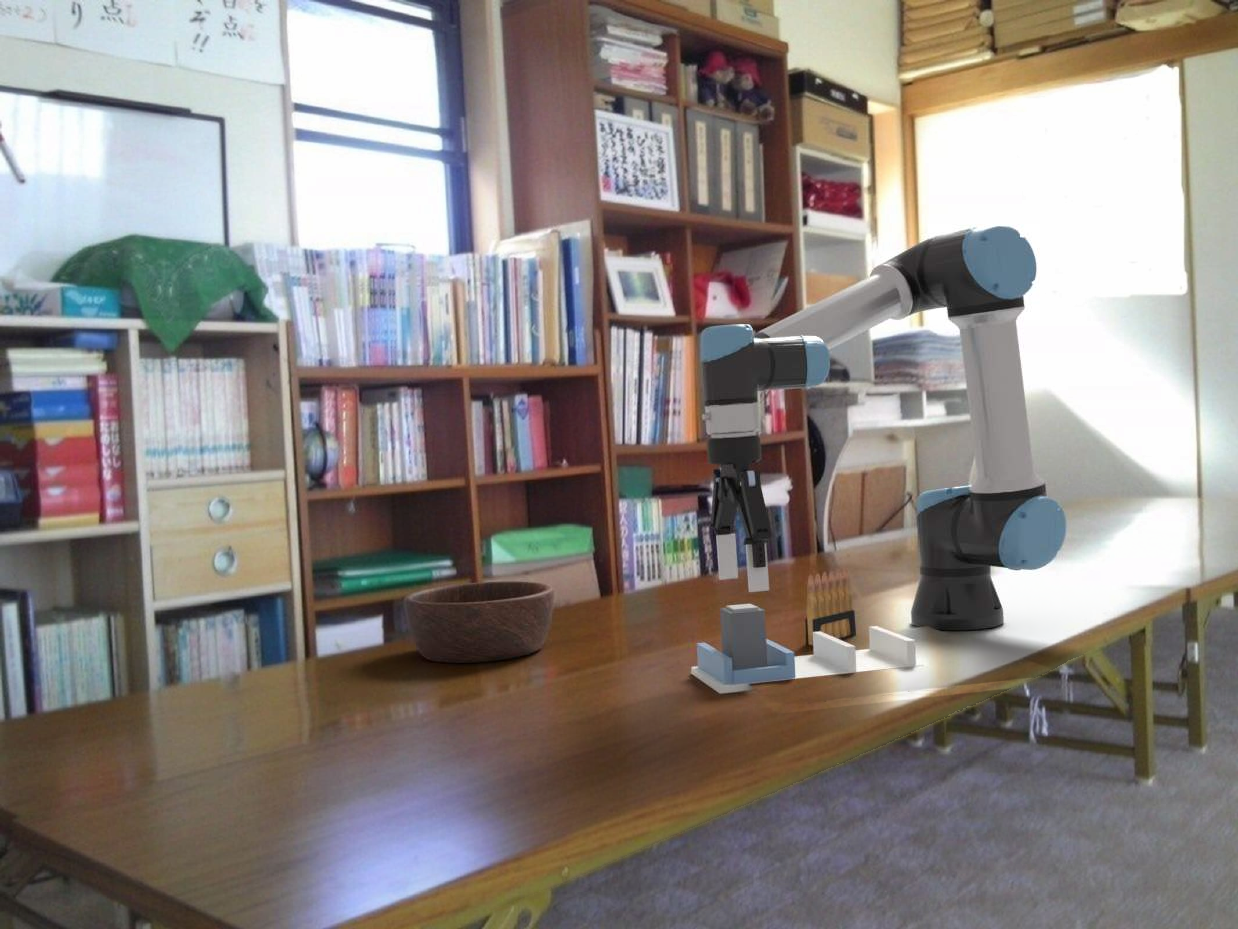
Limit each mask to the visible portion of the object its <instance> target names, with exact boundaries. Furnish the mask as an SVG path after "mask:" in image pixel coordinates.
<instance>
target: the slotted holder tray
mask: <svg viewBox="0 0 1238 929" xmlns="http://www.w3.org/2000/svg"><path fill="white" fill-rule="evenodd" d="M868 638H869V640H868V641H869V648H866V649H865V648H864V649H858V650H857V649H856V645H853V644H851V643H849V642H846V641H844V640H842V639H837V638H835V637H832V636H830V635H828V634H825V633H823V632H821V631H819V632H813V645H812V647H813V648H812V649H813V654H807V655H797V656H795V652H794V651H793V650H790V649H788V648H787V647H784V646H783V645H781V644H779V643H776V642H774V641H772V640H770V639H768V638H766V645H767V665H768V667H760V668H751V669H741V670H733V669H732V658H730V657H728V656H727V655H725V654H723V653H722V651H719V650H718V649H716V648H715V647H713V646H711V645H710V644H708V643H706V642H696V654H697V666H691V668H690V670H691V671H690V672H691V675H693V676H694V677H695V678H696V679H699V681H701V682H703V683H704V684H705V685H707V686H708V687H710V688H712V689H713V690H714V691H715V692H717V693H718V694H729V693H738V692H748V691H750V692H751V691H756V690H757V689H756V687H753V686H752V685H751V684H758V683H767V682H769V683H770V682H777V681H778V682H779V681H787V680H795V679H796V680H797V679H806V678H813V677H814V678H816V677H825V676H833V675H836V676H837V675H843V674H854V673H862V672H864V673H865V672H873V671H882V670H892V669H902V668H909V667H910V668H911V667H919V666H923V664H922V663H920V662H918V661H917V659H916V658H917V655H916V654H917V653H916V639H913V638H910V637H908V636H904V635H902V634H899V633H896V632H894V631H891V630H888V629H886V628H883V627H880V626H877V625H873V626H868Z"/></svg>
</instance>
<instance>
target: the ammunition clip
mask: <svg viewBox="0 0 1238 929" xmlns="http://www.w3.org/2000/svg"><path fill="white" fill-rule="evenodd" d="M850 584H851V582H850V574H849V572H848V569H847V568H846V567H844V568H843V571H842V573H841V570H840V568H837V569H836V572H835V573H834V572H833V570H832V569H831V570H830V571H829V574H828V575H827V573H826V571H823V573H822V576H820V574H819V573H818V572H817V573H816V574H815V578H813V575H812V574H811V573H810V574H809V575H808V580H807V586H806V587H807V589H806V590H807V593H806V597H807V598H806V617H807V618H805V620H804V621H805V622H804V623H805V626H804V628H805V645H806V646H809V645H810V646H813V632H819V631H821V632H823V633H825V634H828V635H830V636H832V637H835V638H837V639H839V640H842V639H847V638H849V637H853V636H857V628H856V627H857V626H856V617H855V616H856V614H855V609H853V597H852V596H853V595H852V591H851V585H850Z"/></svg>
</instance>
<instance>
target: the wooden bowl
mask: <svg viewBox="0 0 1238 929" xmlns="http://www.w3.org/2000/svg"><path fill="white" fill-rule="evenodd" d="M554 595H555V591H554V588H553V587H552V586H551V585H550V584H548V583H542V582H535V581H518V580H517V581H512V580H511V581H510V580H509V581H507V580H506V581H483V582H469V583H467V582H466V583H459V584H449V585H443V586H437V587H431V588H425V589H422V590H417V591H414V592H411V593H409V594H407V595H405V597H404V599H403V608H404V613H405V618H406V623H407V627H408V630H409V634H410V637H411V639H412V642H413V644H414V646H415V648H416V649H417V651H418V652H419V654H420V655H421V656H422V657H423V658H424V659H426V660H429V661H433V662H438V663H447V664H449V663H450V664H451V663H452V664H472V663H487V662H488V663H489V662H498V661H504V660H511V659H515V658H516V659H517V658H521V657H525V656H528V655H530V654H533V653H536V652H537V651H539V650H540V649H541V648H542V647H543V645H544V643H545V642H546V640H547V637H548V635H549V632H550V629H551V625H552V620H553V619H552V618H553V611H554V598H555V596H554Z"/></svg>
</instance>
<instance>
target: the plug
mask: <svg viewBox="0 0 1238 929" xmlns="http://www.w3.org/2000/svg"><path fill="white" fill-rule="evenodd" d="M719 612H720V613H719V614H720V615H719V616H720V635H721V652H722V653H723V654H725V655H727V656H728V657H730V658H732V669H733V670H741V669H751V668H760V667H768V665H767V645H766V639H767V631H766V629H767V628H766V610H765V609H762V608H760V607H759V606H756V605H754V604H752V603H743V604H732V605H731V604H730V605H726V606H725V607H720V608H719Z"/></svg>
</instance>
